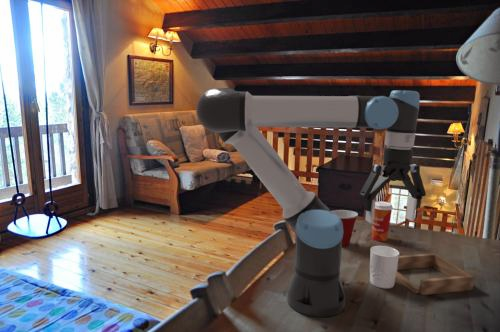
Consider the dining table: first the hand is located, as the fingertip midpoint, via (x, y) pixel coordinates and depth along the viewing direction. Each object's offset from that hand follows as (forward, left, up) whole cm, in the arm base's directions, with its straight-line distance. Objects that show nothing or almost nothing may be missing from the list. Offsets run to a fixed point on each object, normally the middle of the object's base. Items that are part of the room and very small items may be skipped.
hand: (389, 220), depth 108 cm
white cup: (-1, -1, -19) cm, 19 cm away
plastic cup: (0, +29, -19) cm, 35 cm away
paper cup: (+17, +31, -19) cm, 40 cm away
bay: (+13, -1, -19) cm, 23 cm away
